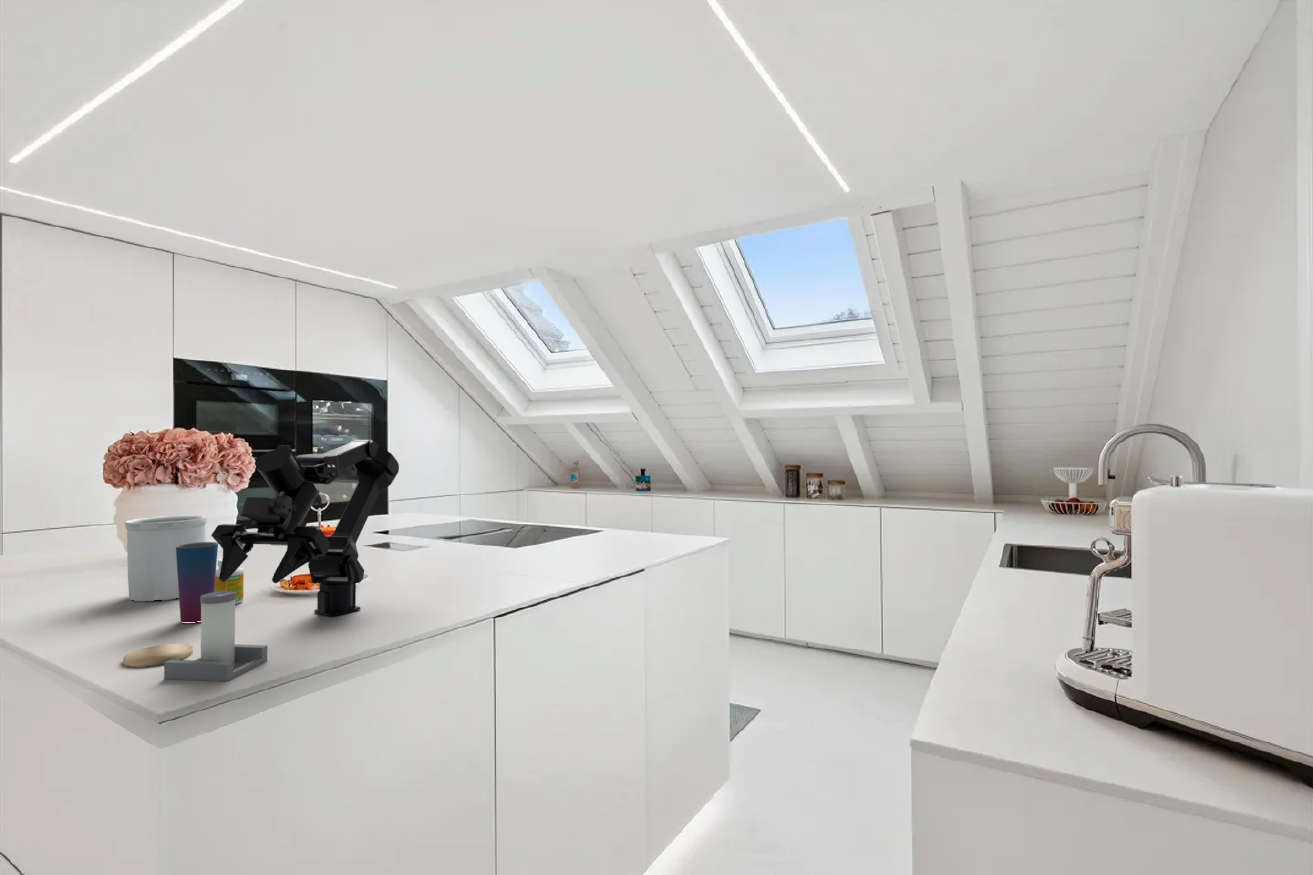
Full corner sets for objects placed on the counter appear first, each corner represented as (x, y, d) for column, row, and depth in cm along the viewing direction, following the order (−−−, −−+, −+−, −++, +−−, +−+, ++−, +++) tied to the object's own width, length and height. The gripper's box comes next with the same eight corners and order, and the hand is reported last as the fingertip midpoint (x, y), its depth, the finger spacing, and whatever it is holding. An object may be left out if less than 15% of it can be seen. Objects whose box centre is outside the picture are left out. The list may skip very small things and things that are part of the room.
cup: (225, 617, 127) (226, 543, 127) (190, 626, 121) (191, 548, 121) (201, 613, 129) (202, 541, 129) (166, 622, 123) (167, 546, 123)
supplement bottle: (228, 607, 134) (228, 561, 134) (207, 605, 135) (207, 560, 135) (249, 600, 140) (249, 557, 140) (228, 599, 141) (229, 556, 141)
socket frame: (209, 658, 104) (209, 643, 104) (267, 660, 103) (267, 645, 103) (164, 678, 95) (164, 662, 95) (227, 681, 94) (227, 664, 94)
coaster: (176, 644, 110) (176, 640, 110) (203, 653, 106) (203, 649, 106) (112, 660, 102) (112, 655, 102) (139, 671, 98) (139, 666, 98)
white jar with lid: (225, 662, 102) (226, 589, 102) (241, 667, 100) (242, 593, 100) (193, 671, 98) (194, 595, 98) (209, 676, 96) (210, 599, 96)
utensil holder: (106, 600, 138) (107, 521, 138) (169, 585, 153) (170, 513, 153) (163, 604, 136) (164, 523, 136) (222, 588, 151) (222, 515, 151)
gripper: (220, 478, 111) (166, 552, 100) (321, 480, 110) (278, 554, 99) (250, 517, 119) (204, 589, 108) (345, 519, 118) (308, 592, 107)
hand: (247, 581), depth 105 cm, fingers open, 9 cm apart
